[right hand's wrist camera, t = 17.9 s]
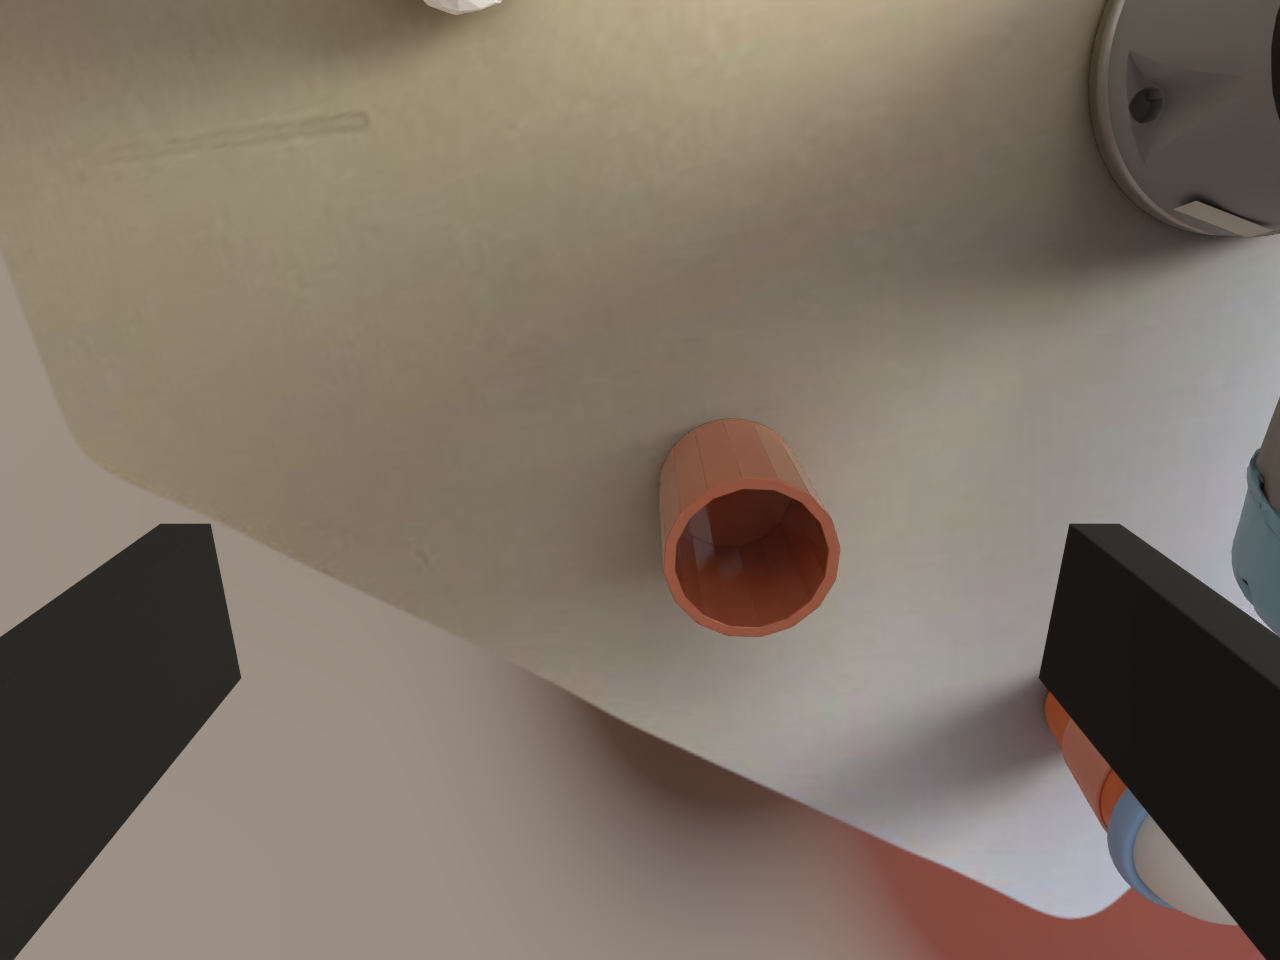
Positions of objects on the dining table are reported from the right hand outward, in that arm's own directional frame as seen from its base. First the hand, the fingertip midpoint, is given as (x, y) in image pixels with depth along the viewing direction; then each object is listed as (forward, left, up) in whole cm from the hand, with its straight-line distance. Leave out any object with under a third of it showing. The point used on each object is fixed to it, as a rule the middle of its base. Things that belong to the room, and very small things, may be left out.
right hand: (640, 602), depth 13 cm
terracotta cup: (+6, +8, -29) cm, 30 cm away
